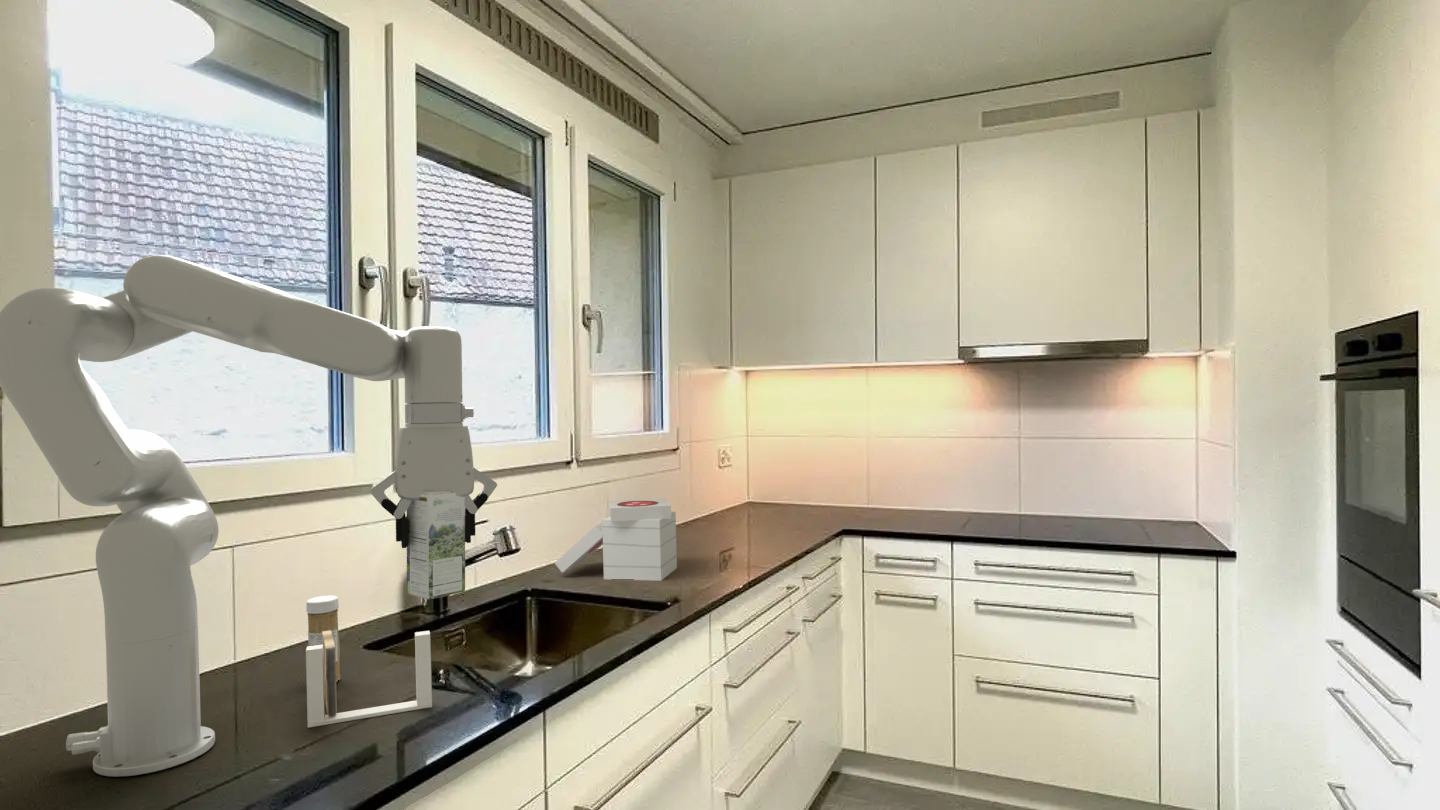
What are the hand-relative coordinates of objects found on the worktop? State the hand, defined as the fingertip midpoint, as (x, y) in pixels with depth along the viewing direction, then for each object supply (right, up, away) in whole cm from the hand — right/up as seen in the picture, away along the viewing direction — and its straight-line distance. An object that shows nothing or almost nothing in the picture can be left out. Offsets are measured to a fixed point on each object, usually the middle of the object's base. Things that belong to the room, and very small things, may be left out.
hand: (436, 543), depth 109 cm
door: (-17, -24, +5) cm, 30 cm away
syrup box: (0, -7, 0) cm, 7 cm away
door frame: (-10, -25, +3) cm, 27 cm away
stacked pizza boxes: (+14, -24, +93) cm, 97 cm away
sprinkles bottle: (-24, -25, +17) cm, 38 cm away
